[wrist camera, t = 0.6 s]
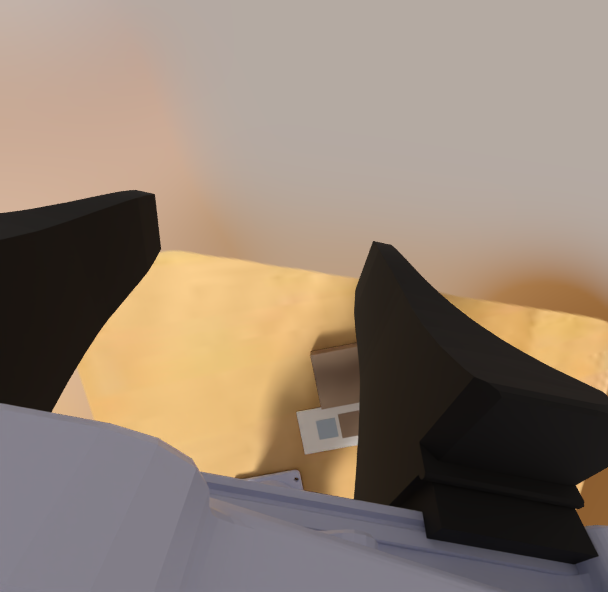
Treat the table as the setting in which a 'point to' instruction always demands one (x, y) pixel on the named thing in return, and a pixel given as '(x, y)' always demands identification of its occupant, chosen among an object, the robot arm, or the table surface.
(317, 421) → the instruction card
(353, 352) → the base brick
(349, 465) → the table surface
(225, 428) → the table surface
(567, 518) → the robot arm
